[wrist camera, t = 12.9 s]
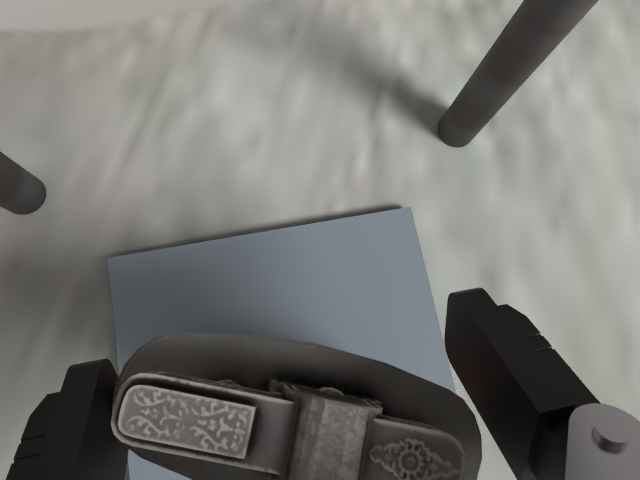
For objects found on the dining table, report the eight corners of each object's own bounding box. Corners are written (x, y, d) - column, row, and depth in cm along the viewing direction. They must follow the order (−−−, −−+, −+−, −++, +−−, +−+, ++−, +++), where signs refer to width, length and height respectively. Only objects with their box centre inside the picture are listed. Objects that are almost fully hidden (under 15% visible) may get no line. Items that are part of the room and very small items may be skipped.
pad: (407, 210, 20) (410, 206, 20) (482, 520, 18) (488, 525, 17) (111, 260, 19) (107, 257, 18) (147, 605, 16) (143, 613, 16)
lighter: (406, 367, 18) (552, 387, 8) (392, 463, 17) (534, 606, 8) (195, 325, 18) (94, 293, 8) (170, 419, 17) (26, 510, 7)
